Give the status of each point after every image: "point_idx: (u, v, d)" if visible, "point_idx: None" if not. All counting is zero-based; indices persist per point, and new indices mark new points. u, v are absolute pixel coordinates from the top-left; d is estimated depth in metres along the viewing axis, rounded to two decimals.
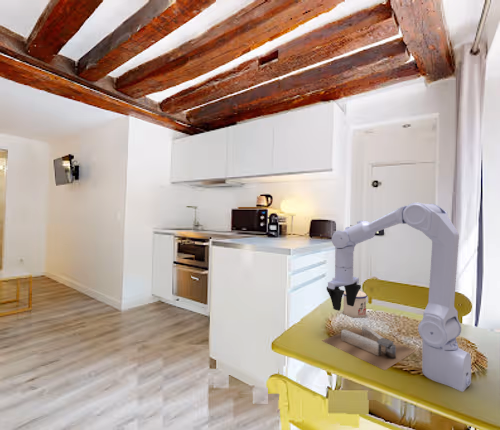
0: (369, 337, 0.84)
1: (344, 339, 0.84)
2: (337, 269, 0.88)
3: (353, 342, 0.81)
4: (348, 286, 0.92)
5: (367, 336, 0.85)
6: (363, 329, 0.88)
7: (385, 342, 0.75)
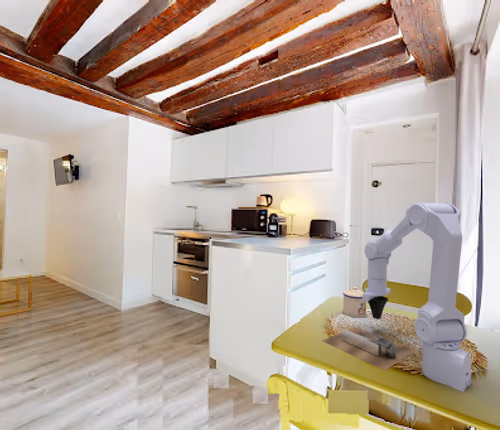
0: (369, 337, 0.84)
1: (344, 339, 0.84)
2: (371, 280, 0.90)
3: (353, 342, 0.81)
4: None
5: (367, 336, 0.85)
6: (363, 329, 0.88)
7: (385, 342, 0.75)
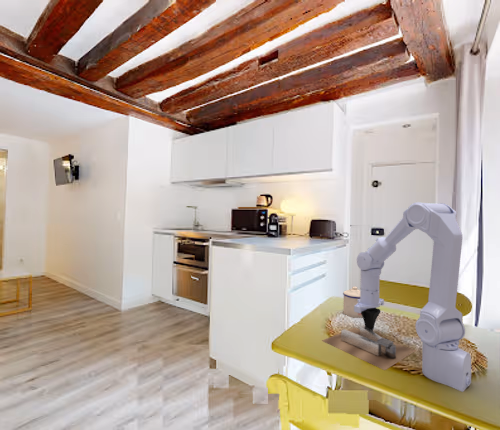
0: (368, 337, 0.84)
1: (344, 339, 0.84)
2: (363, 292, 0.87)
3: (353, 342, 0.81)
4: None
5: (366, 336, 0.85)
6: (361, 329, 0.88)
7: (385, 342, 0.75)
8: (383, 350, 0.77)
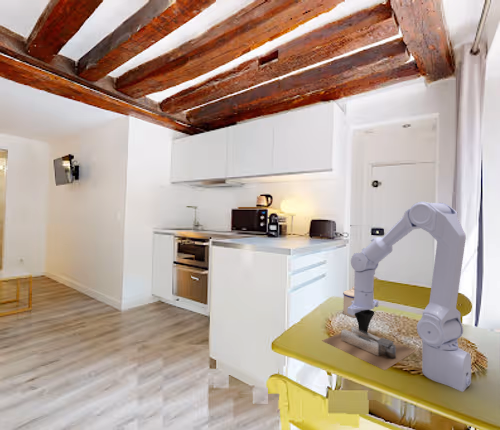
0: None
1: (344, 339, 0.84)
2: (357, 293, 0.85)
3: (353, 342, 0.81)
4: None
5: None
6: (353, 330, 0.87)
7: (385, 342, 0.75)
8: (382, 351, 0.77)
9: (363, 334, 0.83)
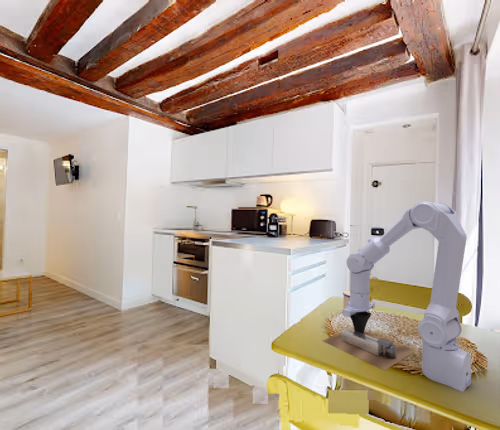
0: None
1: (344, 339, 0.84)
2: (352, 294, 0.84)
3: (353, 342, 0.81)
4: None
5: None
6: None
7: (385, 342, 0.75)
8: (382, 351, 0.76)
9: None
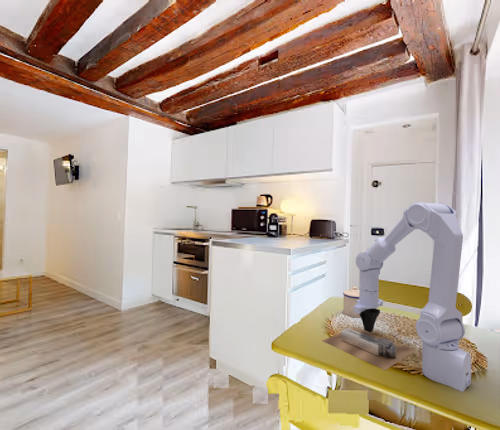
0: None
1: (344, 339, 0.84)
2: (362, 292, 0.87)
3: (353, 342, 0.81)
4: None
5: None
6: None
7: (385, 342, 0.75)
8: (382, 351, 0.76)
9: None
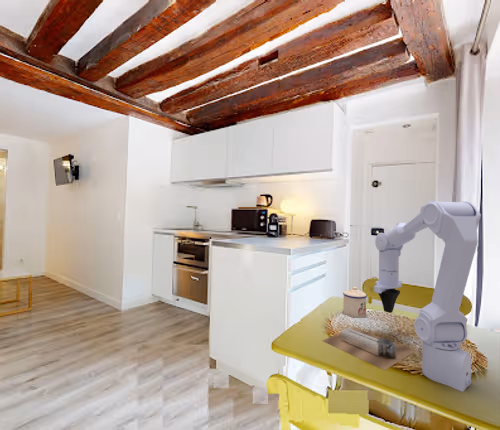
0: None
1: (344, 339, 0.84)
2: (382, 273, 0.87)
3: (353, 342, 0.81)
4: None
5: None
6: None
7: (385, 342, 0.75)
8: (382, 351, 0.76)
9: None
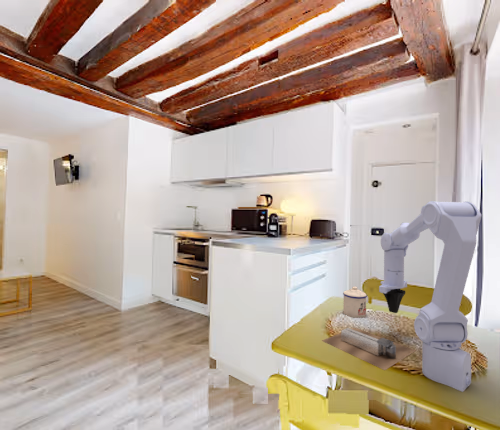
0: None
1: (344, 339, 0.84)
2: (387, 273, 0.86)
3: (353, 342, 0.81)
4: None
5: None
6: None
7: (385, 342, 0.75)
8: (382, 351, 0.76)
9: None
